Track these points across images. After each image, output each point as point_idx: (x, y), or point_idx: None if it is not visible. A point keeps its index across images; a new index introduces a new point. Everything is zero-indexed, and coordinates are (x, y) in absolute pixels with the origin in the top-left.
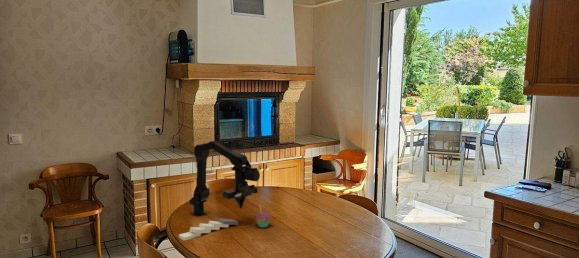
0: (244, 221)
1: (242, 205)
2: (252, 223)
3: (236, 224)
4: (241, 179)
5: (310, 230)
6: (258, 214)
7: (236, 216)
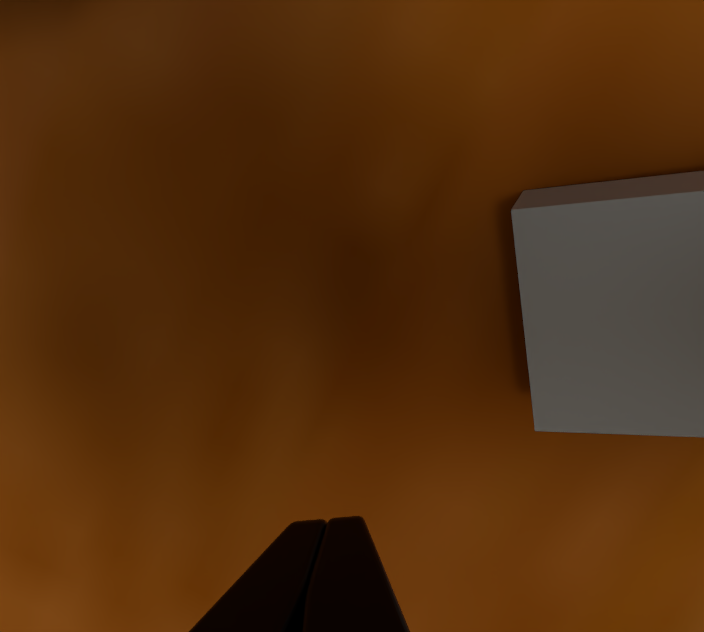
0: (270, 317)
1: (231, 591)
2: (149, 100)
3: (556, 190)
4: None
5: None
6: None
7: None
